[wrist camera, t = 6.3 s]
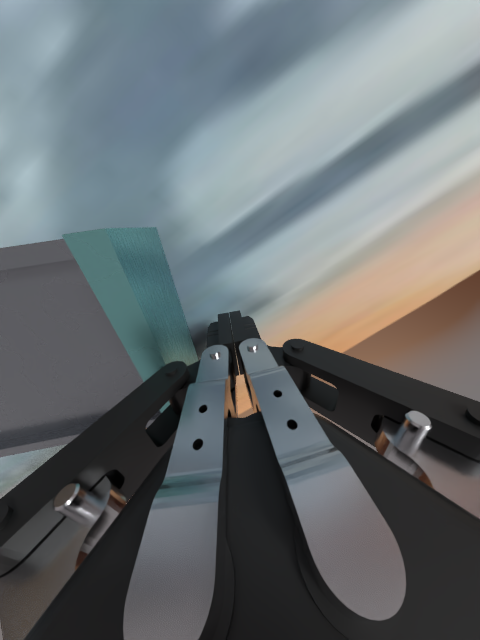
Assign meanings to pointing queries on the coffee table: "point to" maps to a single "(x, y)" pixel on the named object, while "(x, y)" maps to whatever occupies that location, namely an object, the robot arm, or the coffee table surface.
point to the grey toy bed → (82, 331)
